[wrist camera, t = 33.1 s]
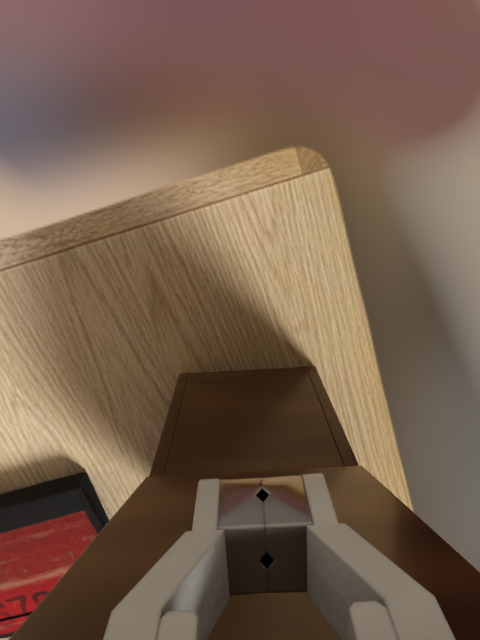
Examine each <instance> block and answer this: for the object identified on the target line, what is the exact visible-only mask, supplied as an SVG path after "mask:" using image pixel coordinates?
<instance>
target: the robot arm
mask: <svg viewBox="0 0 480 640" xmlns="http://www.w3.org/2000/svg"><path fill="white" fill-rule="evenodd" d="M289 592H307V595H308V596H309V598H310V599H311V600H312V601H313V603H314V604H315V605H316V607H317V608H318V609H319V611H320V612H321V613H322V615H323V616H324V617H325V619H326V620H327V621H328V623H329V624H330V625H331V627H332V628H333V629H334V631H335V632H336V633H337V634H338V636H339V637H340V638H341V640H456V639H455V637H454V635H453V633H452V631H451V629H450V627H449V625H448V623H447V621H446V619H445V617H444V615H443V612H442V610H441V608H440V606H439V604H438V602H437V600H436V598H435V596H434V595H432V594H431V593H430V592H429V591H427V590H426V589H425V588H424V587H422V586H421V585H420V584H419V583H418V582H416V581H415V580H414V579H413V578H411V577H410V576H409V575H408V574H407V573H405V572H404V571H403V570H402V569H400V568H399V567H398V566H397V565H396V564H394V563H393V562H392V561H391V560H389V559H388V558H387V557H386V556H385V555H383V554H382V553H381V552H380V551H378V550H377V549H376V548H375V547H374V546H372V545H371V544H370V543H369V542H367V541H366V540H365V539H364V538H363V537H361V536H360V535H359V534H358V533H356V532H355V531H354V530H353V529H352V528H350V527H349V526H348V525H347V524H345V523H343V524H339V522H338V519H337V516H336V512H335V509H334V506H333V503H332V499H331V496H330V493H329V490H328V487H327V483H326V480H325V477H324V475H323V474H322V473H312V474H302V475H292V476H274V477H244V478H221V479H219V478H216V479H200V480H199V482H198V488H197V496H196V503H195V511H194V519H193V527H192V531H186V532H185V533H184V534H183V535H182V536H181V537H180V538H179V539H178V540H177V541H176V542H175V543H174V545H173V546H172V547H171V548H170V549H169V550H168V551H167V552H166V553H165V554H164V555H163V556H162V557H161V559H160V560H159V561H158V562H157V563H156V564H155V565H154V566H153V567H152V568H151V569H150V570H149V571H148V573H147V574H146V575H145V576H144V577H143V578H142V579H141V580H140V581H139V582H138V583H137V584H136V585H135V587H134V588H133V589H132V590H131V591H130V592H129V593H128V594H127V595H126V596H125V597H124V598H123V599H122V601H121V602H120V603H119V604H118V605H117V606H116V607H115V608H114V609H113V610H112V611H111V614H110V618H109V621H108V625H107V628H106V631H105V635H104V638H103V640H207V638H208V636H209V635H210V633H211V631H212V629H213V628H214V626H215V624H216V622H217V621H218V619H219V617H220V615H221V613H222V612H223V610H224V608H225V606H226V605H227V603H228V601H229V599H230V596H235V595H247V594H260V593H289Z"/></svg>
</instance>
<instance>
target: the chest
mask: <svg viewBox="0 0 480 640" xmlns="http://www.w3.org/2000/svg"><path fill="white" fill-rule="evenodd" d="M347 466H359V465H358V463H357V461H356V458H355V456H354V454H353V451H352V449H351V447H350V445H349V442H348V440H347V438H346V436H345V433H344V431H343V429H342V426H341V424H340V422H339V420H338V417H337V415H336V413H335V410H334V408H333V406H332V404H331V401H330V399H329V397H328V395H327V392H326V390H325V388H324V385H323V383H322V381H321V379H320V376H319V374H318V372H317V369H316V367H300V368H282V369H264V370H245V371H227V372H209V373H191V374H179V377H178V381H177V384H176V388H175V391H174V394H173V398H172V401H171V404H170V408H169V411H168V415H167V418H166V421H165V425H164V428H163V431H162V435H161V438H160V442H159V445H158V448H157V452H156V455H155V458H154V462H153V465H152V469H151V472H150V475H149V477H159V476H178V475H197V474H215V473H234V472H253V471H272V470H290V469H309V468H328V467H347Z"/></svg>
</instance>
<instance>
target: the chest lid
mask: <svg viewBox="0 0 480 640" xmlns="http://www.w3.org/2000/svg"><path fill="white" fill-rule="evenodd" d="M312 473H322V474H323V475H324V477H325V480H326V483H327V487H328V490H329V493H330V496H331V499H332V503H333V506H334V509H335V512H336V516H337V519H338V522H339V524H343V523H345V524H347V525H348V526H349V527H350V528H352V529H353V530H354V531H355V532H356V533H358V534H359V535H360V536H361V537H363V538H364V539H365V540H366V541H367V542H369V543H370V544H371V545H372V546H374V547H375V548H376V549H377V550H378V551H380V552H381V553H382V554H383V555H385V556H386V557H387V558H388V559H389V560H391V561H392V562H393V563H394V564H396V565H397V566H398V567H399V568H400V569H402V570H403V571H404V572H405V573H407V574H408V575H409V576H410V577H411V578H413V579H414V580H415V581H416V582H418V583H419V584H420V585H421V586H422V587H424V588H425V589H426V590H427V591H429V592H430V593H431V594H432V595H434V596H435V598H436V600H437V602H438V604H439V606H440V608H441V610H442V612H443V615H444V617H445V619H446V621H447V623H448V625H449V627H450V629H451V631H452V633H453V635H454V637H455V639H456V640H480V572H479V571H477V570H476V569H475V568H474V567H473V566H472V565H471V564H470V563H469V562H468V561H466V560H465V559H464V558H463V557H462V556H461V555H460V554H459V553H458V552H456V551H455V550H454V549H453V548H452V547H451V546H450V545H449V544H448V543H446V542H445V541H444V540H443V539H442V538H441V537H440V536H439V535H438V534H437V533H435V532H434V531H433V530H432V529H431V528H430V527H429V526H428V525H427V524H425V523H424V522H423V521H422V520H421V519H420V518H419V517H418V516H417V515H415V514H414V513H413V512H412V511H411V510H410V509H409V508H408V507H407V506H406V505H404V504H403V503H402V502H401V501H400V500H399V499H398V498H397V497H396V496H394V495H393V494H392V493H391V492H390V491H389V490H388V489H387V488H386V487H385V486H383V485H382V484H381V483H380V482H379V481H378V480H377V479H376V478H375V477H373V476H372V475H371V474H370V473H369V472H368V471H367V470H366V469H365V468H363V467H362V466H347V467H328V468H309V469H290V470H272V471H253V472H234V473H215V474H197V475H178V476H159V477H146V478H145V480H144V481H143V482H142V483H141V484H140V485H139V487H138V488H137V489H136V490H135V491H134V493H133V494H132V495H131V496H130V497H129V498H128V500H127V501H126V502H125V503H124V504H123V506H122V507H121V508H120V509H119V510H118V511H117V513H116V514H115V515H114V516H113V517H112V519H111V520H110V521H109V522H108V523H107V524H106V526H105V527H104V528H103V529H102V530H101V532H100V533H99V534H98V535H97V536H96V537H95V539H94V540H93V541H92V542H91V543H90V544H89V546H88V547H87V548H86V549H85V550H84V552H83V553H82V554H81V555H80V556H79V557H78V559H77V560H76V561H75V562H74V563H73V565H72V566H71V567H70V568H69V569H68V570H67V572H66V573H65V574H64V575H63V576H62V578H61V579H60V580H59V581H58V582H57V583H56V585H55V586H54V587H53V588H52V589H51V591H50V592H49V593H48V594H47V595H46V596H45V598H44V599H43V600H42V601H41V602H40V603H39V605H38V606H37V607H36V608H35V609H34V611H33V612H32V613H31V614H30V615H29V616H28V618H27V619H26V620H25V621H24V622H23V624H22V625H21V626H20V627H19V628H18V629H17V631H16V632H15V633H14V634H13V635H12V637H11V638H10V639H9V640H103V638H104V635H105V631H106V628H107V625H108V621H109V618H110V614H111V611H112V610H113V609H114V608H115V607H116V606H117V605H118V604H119V603H120V602H121V601H122V599H123V598H124V597H125V596H126V595H127V594H128V593H129V592H130V591H131V590H132V589H133V588H134V587H135V585H136V584H137V583H138V582H139V581H140V580H141V579H142V578H143V577H144V576H145V575H146V574H147V573H148V571H149V570H150V569H151V568H152V567H153V566H154V565H155V564H156V563H157V562H158V561H159V560H160V559H161V557H162V556H163V555H164V554H165V553H166V552H167V551H168V550H169V549H170V548H171V547H172V546H173V545H174V543H175V542H176V541H177V540H178V539H179V538H180V537H181V536H182V535H183V534H184V533H185V532H186V531H192V527H193V519H194V511H195V503H196V496H197V488H198V482H199V480H200V479H216V478H219V479H221V478H244V477H274V476H292V475H302V474H312ZM207 640H341V638H340V637H339V636H338V634H337V633H336V632H335V631H334V629H333V628H332V627H331V625H330V624H329V623H328V621H327V620H326V619H325V617H324V616H323V615H322V613H321V612H320V611H319V609H318V608H317V607H316V605H315V604H314V603H313V601H312V600H311V599H310V598H309V596H308V595H307V592H289V593H260V594H247V595H235V596H230V599H229V601H228V603H227V605H226V606H225V608H224V610H223V612H222V613H221V615H220V617H219V619H218V621H217V622H216V624H215V626H214V628H213V629H212V631H211V633H210V635H209V636H208V638H207Z"/></svg>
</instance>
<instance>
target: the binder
mask: <svg viewBox="0 0 480 640" xmlns="http://www.w3.org/2000/svg"><path fill="white" fill-rule="evenodd" d="M108 522H109V520H108V518H107V516H106V514H105V511H104V509H103V507H102V505H101V503H100V501H99V498H98V496H97V494H96V492H95V489H94V487H93V485H92V483H91V481H90V479H89V477H88V475H87V473H86V472H84V473H79V474H77V475H73V476H70V477H65V478H62V479H58V480H54V481H50V482H46V483H42V484H39V485H35V486H31V487H28V488H25V489H21V490H17V491H13V492H9V493H6V494H2V495H0V638H6V637H11V636H12V635H13V634H14V633H15V632H16V631H17V629H18V628H19V627H20V626H21V625H22V624H23V622H24V621H25V620H26V619H27V618H28V616H29V615H30V614H31V613H32V612H33V611H34V609H35V608H36V607H37V606H38V605H39V603H40V602H41V601H42V600H43V599H44V598H45V596H46V595H47V594H48V593H49V592H50V591H51V589H52V588H53V587H54V586H55V585H56V583H57V582H58V581H59V580H60V579H61V578H62V576H63V575H64V574H65V573H66V572H67V570H68V569H69V568H70V567H71V566H72V565H73V563H74V562H75V561H76V560H77V559H78V557H79V556H80V555H81V554H82V553H83V552H84V550H85V549H86V548H87V547H88V546H89V544H90V543H91V542H92V541H93V540H94V539H95V537H96V536H97V535H98V534H99V533H100V532H101V530H102V529H103V528H104V527H105V526H106V524H107V523H108Z"/></svg>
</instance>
